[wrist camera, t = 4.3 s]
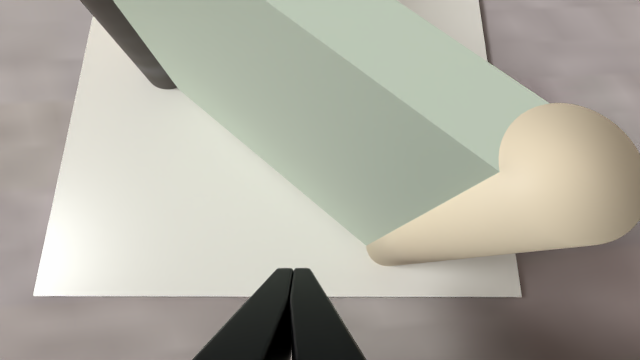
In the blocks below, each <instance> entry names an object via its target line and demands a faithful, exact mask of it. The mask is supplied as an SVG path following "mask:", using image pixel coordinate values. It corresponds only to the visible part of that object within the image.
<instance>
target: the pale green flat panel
mask: <svg viewBox="0 0 640 360" xmlns="http://www.w3.org/2000/svg"><path fill="white" fill-rule="evenodd" d="M113 1H114V2H115V4H116V5H117V7H118V8H119V9H120V11H121V12H122V13H123V15H124V16H125V17H126V19H127V20H128V21H129V23H130V24H131V25H132V27H133V28H134V30H135V31H136V32H137V34H138V35H139V36H140V38H141V39H142V40H143V42H144V43H145V44H146V46H147V47H148V48H149V50H150V51H151V53H152V54H153V55H154V57H155V58H156V59H157V61H158V62H159V63H160V65H161V66H162V67H163V69H164V70H165V71H166V73H167V74H168V76H169V77H170V78H171V80H172V81H173V82H174V84H175V85H176V86H177V88H178V89H179V90H180V91H181V92H182V93H184V94H185V95H186V96H187V97H188V98H190V99H191V100H192V101H193V102H194V103H196V104H197V105H198V106H199V107H200V108H202V109H203V110H204V111H205V112H206V113H208V114H209V115H210V116H211V117H212V118H214V119H215V120H216V121H217V122H218V123H220V124H221V125H222V126H223V127H224V128H226V129H227V130H228V131H229V132H230V133H232V134H233V135H234V136H235V137H236V138H238V139H239V140H240V141H241V142H242V143H244V144H245V145H246V146H247V147H248V148H250V149H251V150H252V151H253V152H254V153H256V154H257V155H258V156H259V157H260V158H262V159H263V160H264V161H265V162H266V163H268V164H269V165H270V166H271V167H272V168H274V169H275V170H276V171H277V172H278V173H280V174H281V175H282V176H283V177H284V178H286V179H287V180H288V181H289V182H290V183H292V184H293V185H294V186H295V187H296V188H298V189H299V190H300V191H301V192H302V193H303V194H305V195H306V196H307V197H308V198H309V199H311V200H312V201H313V202H314V203H315V204H317V205H318V206H319V207H320V208H321V209H323V210H324V211H325V212H326V213H327V214H329V215H330V216H331V217H332V218H333V219H335V220H336V221H337V222H338V223H339V224H341V225H342V226H343V227H344V228H345V229H347V230H348V231H349V232H350V233H351V234H353V235H354V236H355V237H356V238H357V239H359V240H360V241H361V242H362V243H363V244H365V245H366V249H367V252H368V254H369V256H370V258H371V259H372V260H373V261H374V262H376V263H377V264H379V265H382V266H397V265H407V264H416V263H426V262H436V261H446V260H455V259H465V258H475V257H485V256H494V255H504V254H514V253H523V252H533V251H543V250H553V249H562V248H572V247H582V246H592V245H599V244H605V243H608V242H611V241H614V240H616V239H618V238H620V237H622V236H624V235H625V234H626V233H628V232H629V231H630V230H631V229H632V228H633V227H634V226H635V225H636V224H637V222H638V221H639V220H640V154H639V152H638V150H637V148H636V147H635V145H634V144H633V142H632V141H631V140H630V138H629V137H628V136H627V135H626V134H625V133H624V132H623V131H622V130H621V129H620V128H619V127H618V126H617V125H616V124H614V123H613V122H612V121H610V120H609V119H608V118H606V117H604V116H603V115H601V114H599V113H597V112H595V111H593V110H591V109H588V108H585V107H582V106H578V105H573V104H566V103H551V104H549V103H548V102H546V101H545V100H543V99H542V98H540V97H539V96H538V95H536V94H535V93H533V92H532V91H530V90H529V89H527V88H526V87H524V86H523V85H521V84H520V83H518V82H517V81H515V80H514V79H512V78H511V77H509V76H508V75H506V74H505V73H503V72H502V71H500V70H499V69H498V68H496V67H495V66H493V65H492V64H490V63H489V62H487V61H486V60H484V59H483V58H481V57H480V56H478V55H477V54H475V53H474V52H472V51H471V50H469V49H468V48H466V47H465V46H463V45H462V44H460V43H459V42H458V41H456V40H455V39H453V38H452V37H450V36H449V35H447V34H446V33H444V32H443V31H441V30H440V29H438V28H437V27H435V26H434V25H432V24H431V23H429V22H428V21H426V20H425V19H423V18H422V17H420V16H419V15H418V14H416V13H415V12H413V11H412V10H410V9H409V8H407V7H406V6H404V5H403V4H401V3H400V2H398V1H397V0H113Z"/></svg>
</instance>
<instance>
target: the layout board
mask: <svg viewBox="0 0 640 360" xmlns="http://www.w3.org/2000/svg"><path fill="white" fill-rule="evenodd" d="M397 1H398V2H400V3H401V4H403V5H404V6H406V7H407V8H409V9H410V10H412V11H413V12H415V13H416V14H418V15H419V16H420V17H422V18H423V19H425V20H426V21H428V22H429V23H431V24H432V25H434V26H435V27H437V28H438V29H440V30H441V31H443V32H444V33H446V34H447V35H449V36H450V37H452V38H453V39H455V40H456V41H458V42H459V43H460V44H462V45H463V46H465V47H466V48H468V49H469V50H471V51H472V52H474V53H475V54H477V55H478V56H480V57H481V58H483V59H484V60H486V61H487V55H486V48H485V41H484V34H483V28H482V21H481V14H480V7H479V0H397ZM277 268H292V269H293V271H294V269H295V268H310V269H311V271H312V272H313V274H314V275H315V277H316V279H317V280H318V282H319V284H320V285H321V287H322V288H323V290H324V292H325V293H326V295H327V297H522V295H521V288H520V281H519V274H518V268H517V261H516V254H515V253H514V254H504V255H494V256H485V257H475V258H465V259H455V260H446V261H436V262H426V263H416V264H407V265H397V266H382V265H379V264H377V263H376V262H374V261H373V260H372V259H371V258H370V256H369V254H368V252H367V249H366V245H365V244H363V243H362V242H361V241H360V240H359V239H357V238H356V237H355V236H354V235H353V234H351V233H350V232H349V231H348V230H347V229H345V228H344V227H343V226H342V225H341V224H339V223H338V222H337V221H336V220H335V219H333V218H332V217H331V216H330V215H329V214H327V213H326V212H325V211H324V210H323V209H321V208H320V207H319V206H318V205H317V204H315V203H314V202H313V201H312V200H311V199H309V198H308V197H307V196H306V195H305V194H303V193H302V192H301V191H300V190H299V189H298V188H296V187H295V186H294V185H293V184H292V183H290V182H289V181H288V180H287V179H286V178H284V177H283V176H282V175H281V174H280V173H278V172H277V171H276V170H275V169H274V168H272V167H271V166H270V165H269V164H268V163H266V162H265V161H264V160H263V159H262V158H260V157H259V156H258V155H257V154H256V153H254V152H253V151H252V150H251V149H250V148H248V147H247V146H246V145H245V144H244V143H242V142H241V141H240V140H239V139H238V138H236V137H235V136H234V135H233V134H232V133H230V132H229V131H228V130H227V129H226V128H224V127H223V126H222V125H221V124H220V123H218V122H217V121H216V120H215V119H214V118H212V117H211V116H210V115H209V114H208V113H206V112H205V111H204V110H203V109H202V108H200V107H199V106H198V105H197V104H196V103H194V102H193V101H192V100H191V99H190V98H188V97H187V96H186V95H185V94H184V93H182V92H181V91H180V90H179V89H178V88H175V89H160V88H158V87H156V86H154V85H153V84H152V83H151V82H150V81H149V80H148V79H147V78H146V77H145V75H144V74H143V73H142V72H141V71H140V70H139V68H138V67H137V66H136V65H135V64H134V63H133V61H132V60H131V59H130V58H129V57H128V56H127V54H126V53H125V52H124V51H123V50H122V49H121V47H120V46H119V45H118V44H117V43H116V42H115V40H114V39H113V38H112V37H111V36H110V35H109V33H108V32H107V31H106V30H105V29H104V28H103V26H102V25H101V24H100V23H99V22H98V21H97V20H96V18H95V17H94V16H93V18H92V23H91V27H90V32H89V37H88V41H87V46H86V51H85V55H84V60H83V65H82V69H81V74H80V79H79V83H78V88H77V93H76V97H75V102H74V107H73V111H72V116H71V121H70V125H69V130H68V135H67V139H66V144H65V149H64V153H63V158H62V163H61V167H60V172H59V177H58V181H57V186H56V191H55V195H54V200H53V205H52V209H51V214H50V219H49V223H48V228H47V233H46V237H45V242H44V247H43V251H42V256H41V261H40V265H39V270H38V275H37V279H36V284H35V289H34V293H33V296H235V297H251V296H252V295H253V294H254V293H255V292H256V290H257V289H258V288H259V287H260V286H261V285H262V284H263V283H264V282H265V281H266V280H267V279H268V278H269V276H270V275H271V274H272V273H273V272H274V271H275V270H276V269H277Z"/></svg>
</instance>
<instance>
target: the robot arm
mask: <svg viewBox="0 0 640 360" xmlns="http://www.w3.org/2000/svg"><path fill="white" fill-rule="evenodd" d="M291 350H292V360H366V358H365V357H364V355H363V353H362V352H361V350H360V349H359V347H358V345H357V344H356V342H355V340H354V339H353V337H352V336H351V334H350V332H349V331H348V329H347V327H346V326H345V324H344V323H343V321H342V319H341V318H340V316H339V314H338V313H337V311H336V310H335V308H334V306H333V305H332V303H331V301H330V300H329V298H328V297H327V295H326V293H325V292H324V290H323V288H322V287H321V285H320V284H319V282H318V280H317V279H316V277H315V275H314V274H313V272H312V271H311V269H310V268H295V269H294V271H293V269H292V268H277V269H276V270H275V271H274V272H273V273H272V274H271V275H270V276H269V278H268V279H267V280H266V281H265V282H264V283H263V284H262V285H261V286H260V287H259V288H258V289H257V290H256V292H255V293H254V294H253V295H252V296H251V297H250V298H249V299H248V300H247V301H246V302H245V303H244V304H243V306H242V307H241V308H240V309H239V310H238V311H237V312H236V313H235V314H234V315H233V316H232V317H231V318H230V320H229V321H228V322H227V323H226V324H225V325H224V326H223V327H222V328H221V329H220V330H219V331H218V332H217V333H216V335H215V336H214V337H213V338H212V339H211V340H210V341H209V342H208V343H207V344H206V345H205V346H204V347H203V349H202V350H201V351H200V352H199V353H198V354H197V355H196V356H195V357H194V358H193V359H192V360H290V358H291Z"/></svg>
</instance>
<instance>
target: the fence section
mask: <svg viewBox="0 0 640 360" xmlns="http://www.w3.org/2000/svg"><path fill="white" fill-rule="evenodd" d="M80 1H81V2H82V3H83V4H84V6H85V7H86V8H87V9H88V10H89V11H90V13H91V14H92V15H93V16H94V17H95V18H96V20H97V21H98V22H99V23H100V24H101V25H102V26H103V28H104V29H105V30H106V31H107V32H108V33H109V35H110V36H111V37H112V38H113V39H114V40H115V42H116V43H117V44H118V45H119V46H120V47H121V49H122V50H123V51H124V52H125V53H126V54H127V56H128V57H129V58H130V59H131V60H132V61H133V63H134V64H135V65H136V66H137V67H138V68H139V70H140V71H141V72H142V73H143V74H144V75H145V77H146V78H147V79H148V80H149V81H150V82H151V83H152V84H153V85H154V86H156V87H158V88H160V89H175V88H177V86H176V85H175V84H174V82H173V81H172V80H171V78H170V77H169V76H168V74H167V73H166V71H165V70H164V69H163V67H162V66H161V65H160V63H159V62H158V61H157V59H156V58H155V57H154V55H153V54H152V53H151V51H150V50H149V48H148V47H147V46H146V44H145V43H144V42H143V40H142V39H141V38H140V36H139V35H138V34H137V32H136V31H135V30H134V28H133V27H132V25H131V24H130V23H129V21H128V20H127V19H126V17H125V16H124V15H123V13H122V12H121V11H120V9H119V8H118V7H117V5H116V4H115V2H114V1H113V0H80Z"/></svg>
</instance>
